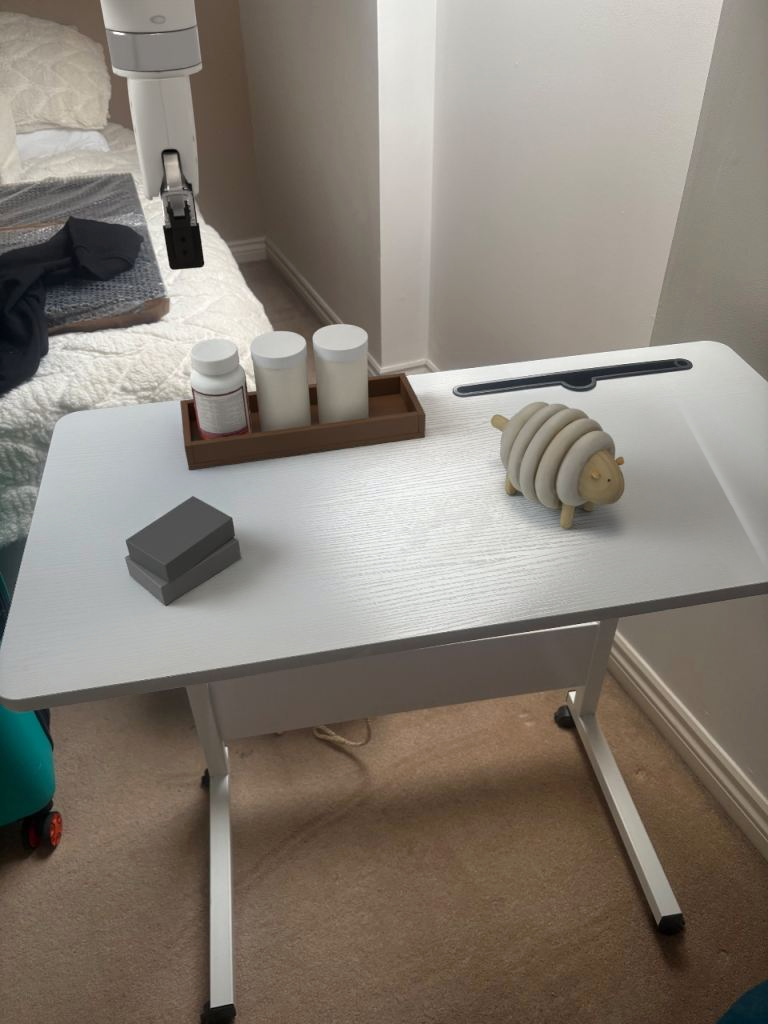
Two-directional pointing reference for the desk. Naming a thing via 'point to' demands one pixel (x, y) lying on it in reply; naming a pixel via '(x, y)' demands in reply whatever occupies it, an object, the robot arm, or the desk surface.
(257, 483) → the desk surface
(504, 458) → the toy sheep
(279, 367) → the white bottle
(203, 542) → the grey books
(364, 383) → the white bottle
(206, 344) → the pill bottle
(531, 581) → the desk surface
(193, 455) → the tray
